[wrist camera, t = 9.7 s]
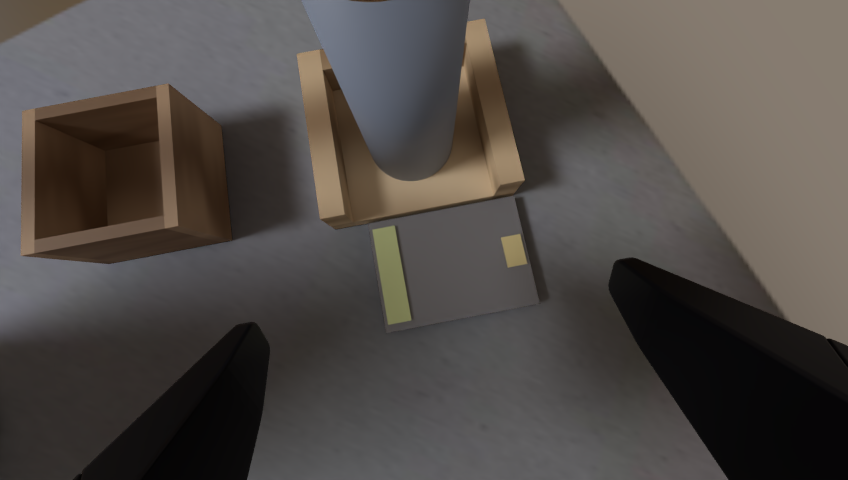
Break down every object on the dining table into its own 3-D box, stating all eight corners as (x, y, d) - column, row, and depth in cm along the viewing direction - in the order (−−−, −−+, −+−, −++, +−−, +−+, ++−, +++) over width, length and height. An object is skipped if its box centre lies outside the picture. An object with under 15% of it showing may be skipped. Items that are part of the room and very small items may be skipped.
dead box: (232, 240, 19) (178, 225, 15) (108, 263, 19) (20, 255, 15) (221, 125, 20) (168, 83, 16) (104, 147, 20) (22, 111, 16)
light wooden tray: (512, 195, 19) (524, 180, 16) (335, 229, 19) (320, 219, 16) (477, 54, 20) (484, 18, 17) (314, 84, 20) (296, 53, 17)
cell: (469, 136, 18) (569, -306, 5) (414, 198, 18) (354, -102, 4) (407, 87, 19) (338, -429, 5) (352, 146, 18) (127, -260, 5)
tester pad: (536, 303, 18) (540, 303, 17) (387, 331, 18) (385, 333, 17) (511, 199, 19) (514, 195, 18) (370, 226, 19) (367, 223, 18)
